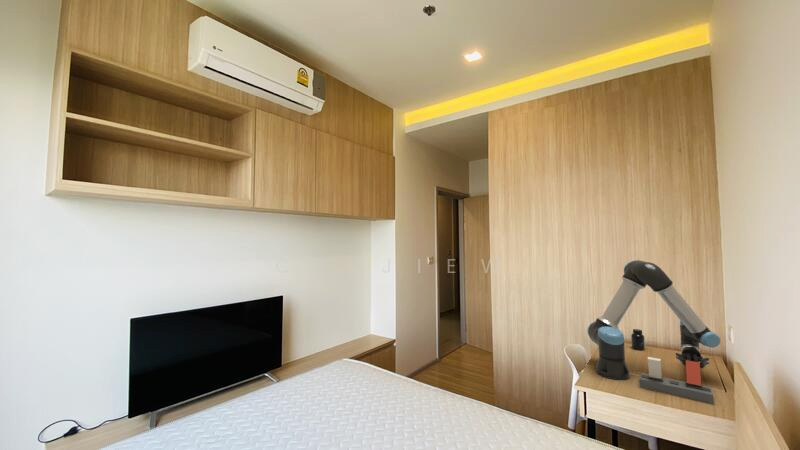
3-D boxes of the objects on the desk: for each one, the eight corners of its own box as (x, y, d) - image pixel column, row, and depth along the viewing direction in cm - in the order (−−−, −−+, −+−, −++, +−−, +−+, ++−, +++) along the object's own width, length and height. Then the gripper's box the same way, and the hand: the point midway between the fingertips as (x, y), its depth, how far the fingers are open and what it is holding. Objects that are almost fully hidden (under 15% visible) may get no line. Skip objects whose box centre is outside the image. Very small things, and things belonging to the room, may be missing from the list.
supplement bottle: (645, 351, 203) (644, 332, 204) (632, 349, 207) (631, 330, 207) (644, 348, 209) (643, 329, 210) (631, 346, 213) (630, 327, 213)
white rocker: (648, 377, 159) (647, 358, 157) (648, 375, 160) (647, 356, 158) (661, 379, 156) (660, 361, 154) (661, 377, 157) (660, 359, 155)
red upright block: (686, 384, 150) (685, 360, 153) (686, 383, 152) (685, 360, 154) (701, 387, 147) (699, 362, 150) (701, 386, 148) (699, 362, 151)
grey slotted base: (639, 387, 159) (639, 378, 159) (641, 380, 165) (640, 371, 166) (713, 404, 142) (713, 393, 142) (711, 395, 149) (711, 385, 149)
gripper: (708, 363, 166) (713, 381, 148) (675, 358, 175) (676, 373, 156) (707, 349, 166) (713, 364, 148) (674, 344, 175) (675, 358, 156)
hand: (694, 369), depth 152 cm, fingers closed
